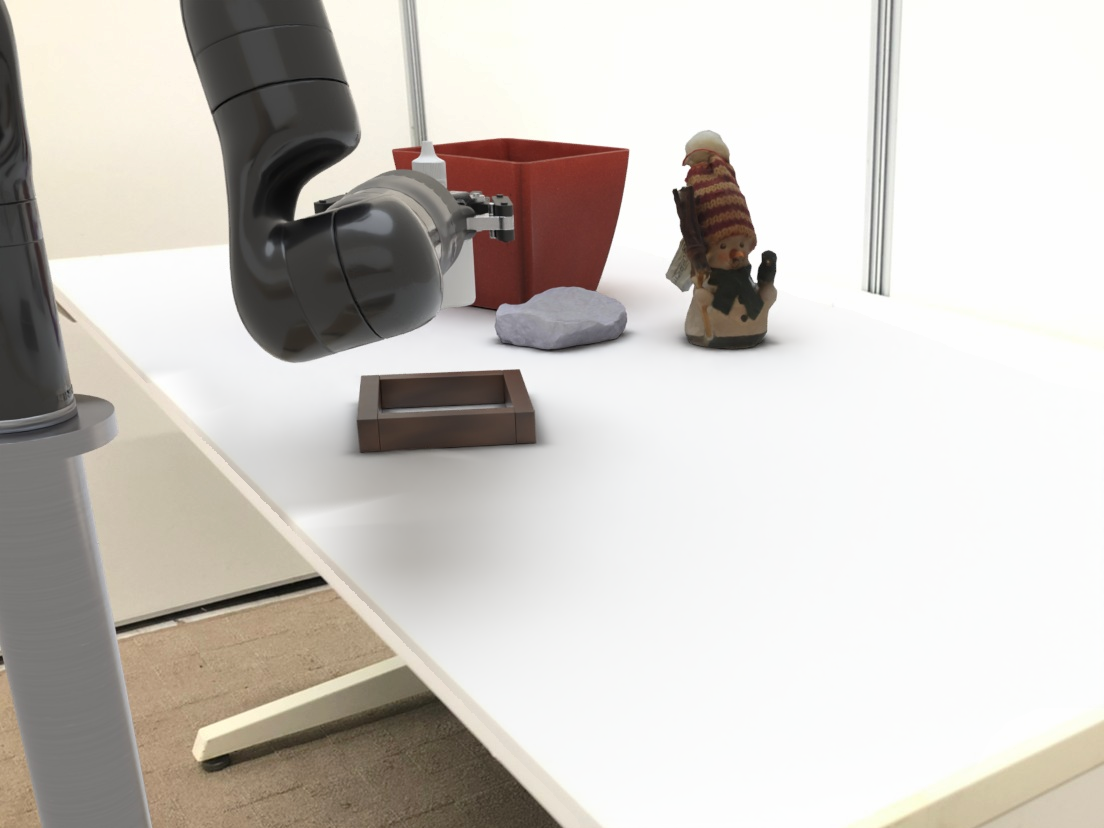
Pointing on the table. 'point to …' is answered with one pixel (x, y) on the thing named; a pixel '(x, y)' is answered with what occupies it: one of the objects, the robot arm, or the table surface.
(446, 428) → the brown wooden square frame
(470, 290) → the eye dropper bottle
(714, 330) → the figurine
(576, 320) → the stone block
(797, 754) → the table surface
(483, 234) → the flower pot
